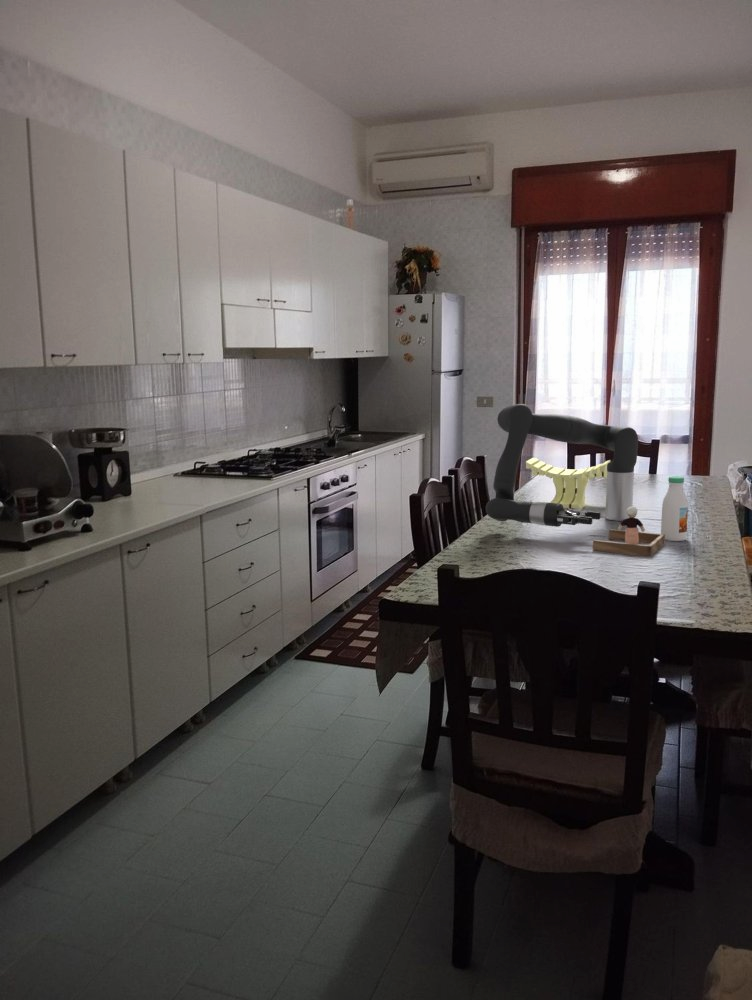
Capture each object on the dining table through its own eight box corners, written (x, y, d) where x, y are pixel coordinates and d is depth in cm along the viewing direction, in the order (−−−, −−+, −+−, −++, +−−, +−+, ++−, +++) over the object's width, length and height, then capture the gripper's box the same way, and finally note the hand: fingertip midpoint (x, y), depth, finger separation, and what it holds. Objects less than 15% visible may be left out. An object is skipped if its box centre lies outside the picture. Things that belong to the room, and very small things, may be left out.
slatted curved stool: (609, 503, 315) (610, 458, 312) (603, 510, 301) (605, 464, 298) (534, 499, 327) (535, 456, 324) (525, 506, 313) (525, 461, 310)
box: (609, 538, 256) (610, 529, 256) (664, 543, 247) (664, 534, 247) (592, 550, 241) (593, 540, 241) (650, 556, 232) (650, 546, 232)
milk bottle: (670, 542, 249) (673, 479, 245) (655, 537, 256) (658, 476, 253) (691, 540, 251) (694, 478, 247) (676, 535, 258) (679, 474, 255)
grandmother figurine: (641, 545, 246) (643, 505, 244) (644, 548, 242) (646, 507, 240) (616, 545, 247) (617, 505, 245) (618, 548, 243) (620, 507, 241)
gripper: (538, 506, 250) (589, 510, 242) (554, 499, 262) (603, 502, 254) (538, 529, 252) (589, 534, 243) (553, 521, 264) (602, 525, 255)
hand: (596, 518), depth 248 cm, fingers open, 8 cm apart
